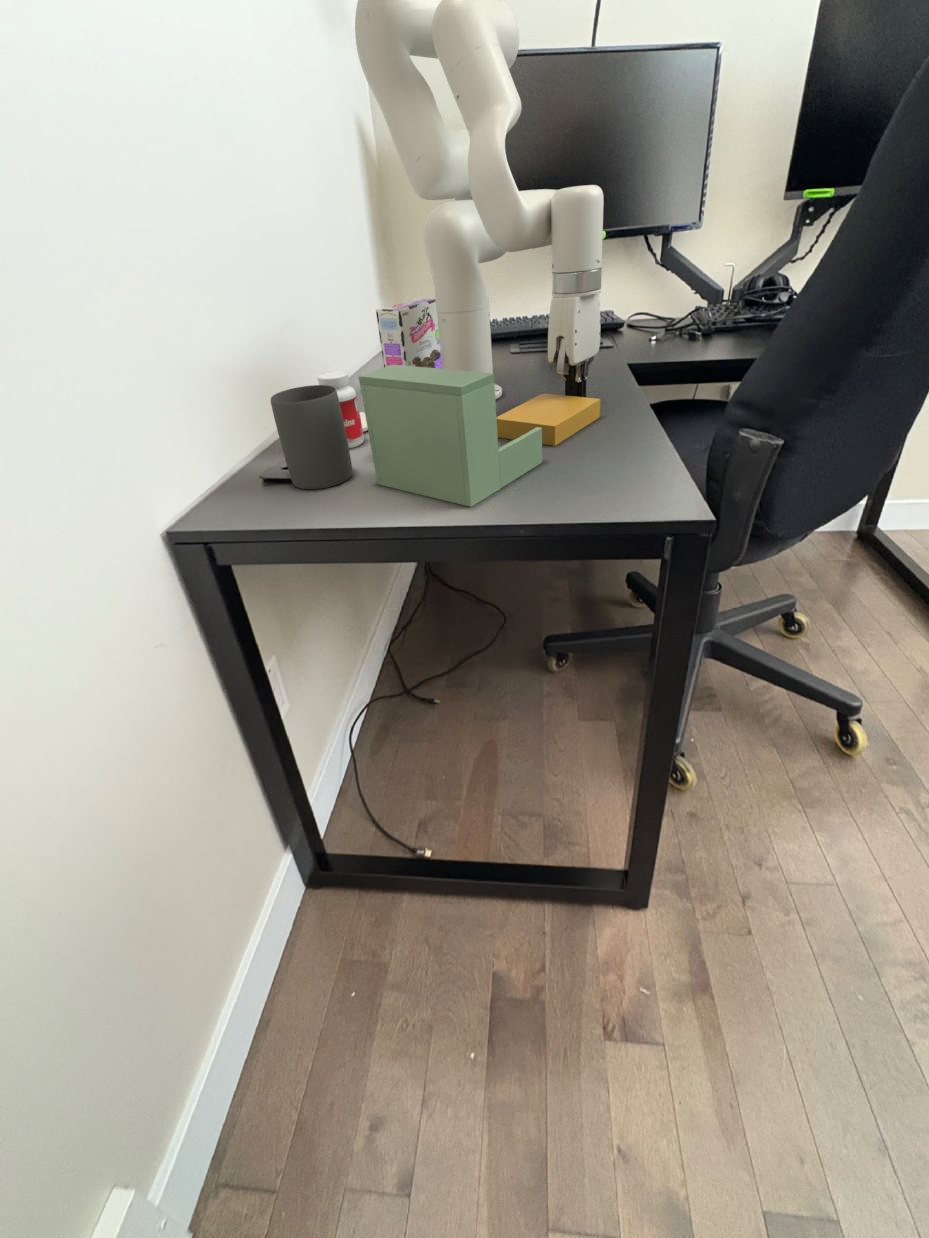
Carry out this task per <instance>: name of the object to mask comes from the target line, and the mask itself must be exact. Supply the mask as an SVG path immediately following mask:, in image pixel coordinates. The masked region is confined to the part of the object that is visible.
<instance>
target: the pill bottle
mask: <svg viewBox="0 0 929 1238" xmlns="http://www.w3.org/2000/svg"><path fill="white" fill-rule="evenodd" d="M348 374H349V373H348V372H347V371H341V370H340V371H339V370H337V371H329V372H325V373H321V374H319V375H318V376H317V381H318V385H327V386H332V387H334V388H335V389H336V391H337V395H338V399H339V403H340V407H341V412H342V416H343V421H344V426H345V431H346V436H347V441H348V446H349V450H350V449H354V448H357V447H359V446H361V445H362V444H363V443H364V441H365V437H364V432H363V430H362V424H361V418H360V412H361V411H360V408H359V401H358V396H357V392H356V390H355V389H354V388H353V387H352V386H350V385H349V384H350V378H349V375H348Z"/></svg>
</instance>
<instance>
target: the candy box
mask: <svg viewBox="0 0 929 1238" xmlns="http://www.w3.org/2000/svg"><path fill="white" fill-rule="evenodd" d="M375 314H376V315H375V316H376V320H377V328H378V336H379V341H380V342H379V343H380V350H381V355H382V362H383V368H384V367H387V366H390V365H403V366H415V367H427V368H438V369H443V366H442V356H441V346H440V337H439V327H438V317H437V309H436V299H435V298H415V299H412V300H408V301H405V302H401V303H398V304H394V305H391V306H387V307H384V308H378V309H375Z"/></svg>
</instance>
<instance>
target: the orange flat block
mask: <svg viewBox="0 0 929 1238" xmlns="http://www.w3.org/2000/svg"><path fill="white" fill-rule="evenodd" d="M600 417H601V398H595V397H587V396H586V397H575V396H565V394H555V393H540V394H539V395H536V396H534V397H533V398H530V399H529V400H527V401H525V402H523V403H521V404H519V405H517V406H515V407H513V408H511V409H510V410H507V411H506V412H504V413H501V414H499V415H498V416H496V418H497V436H498V438H500V439H506V440H511V441H513V440H515V439H517V438H518V437H520V436H522V435H524V434H526V433H527V432H529V431H531V430H533V429H535V428H537V427H540V428H542V445H547V446H553V447H556V446H557V445H559V444H560V443H562V442H563V441H565V440H567V439H568V438H570V437H571V436H573V435H574V434H577V432H579V431H581V430H582V429H584V428H586V427H587V426H588V425H590V424H592V423H593V422H595V421H596V420H598V419H600Z"/></svg>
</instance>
